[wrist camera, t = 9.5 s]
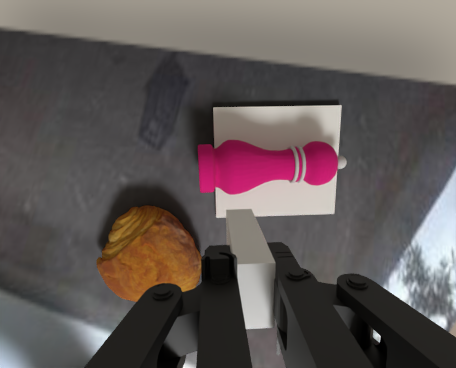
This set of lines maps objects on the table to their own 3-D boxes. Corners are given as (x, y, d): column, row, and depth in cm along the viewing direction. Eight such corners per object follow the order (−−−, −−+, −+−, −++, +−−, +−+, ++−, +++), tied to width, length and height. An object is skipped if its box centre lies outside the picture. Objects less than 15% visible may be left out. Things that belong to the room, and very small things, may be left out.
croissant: (171, 186, 44) (160, 192, 36) (217, 272, 46) (215, 296, 38) (90, 228, 45) (61, 243, 37) (138, 312, 46) (120, 344, 38)
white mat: (216, 215, 43) (216, 217, 43) (213, 107, 40) (213, 107, 39) (332, 212, 44) (334, 213, 43) (339, 105, 41) (341, 105, 40)
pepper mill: (200, 190, 41) (332, 183, 43) (200, 202, 34) (359, 193, 36) (197, 140, 40) (334, 135, 42) (197, 141, 33) (361, 135, 35)
